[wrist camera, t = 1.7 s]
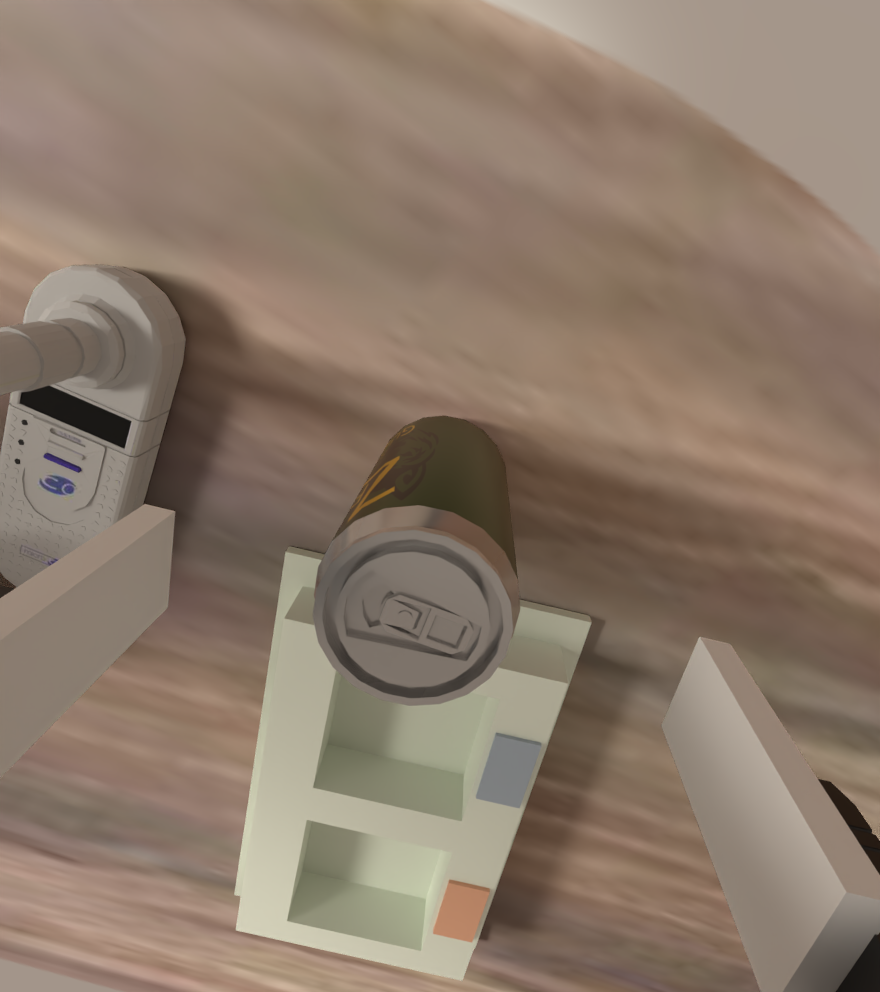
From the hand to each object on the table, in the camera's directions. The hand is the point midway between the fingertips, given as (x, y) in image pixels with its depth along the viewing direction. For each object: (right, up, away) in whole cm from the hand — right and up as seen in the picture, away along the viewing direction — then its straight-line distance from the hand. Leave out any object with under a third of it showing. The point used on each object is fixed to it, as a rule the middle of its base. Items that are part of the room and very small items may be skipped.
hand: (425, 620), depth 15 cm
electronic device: (-14, +6, +12) cm, 20 cm away
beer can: (0, +4, +11) cm, 12 cm away
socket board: (-2, -11, +17) cm, 20 cm away
